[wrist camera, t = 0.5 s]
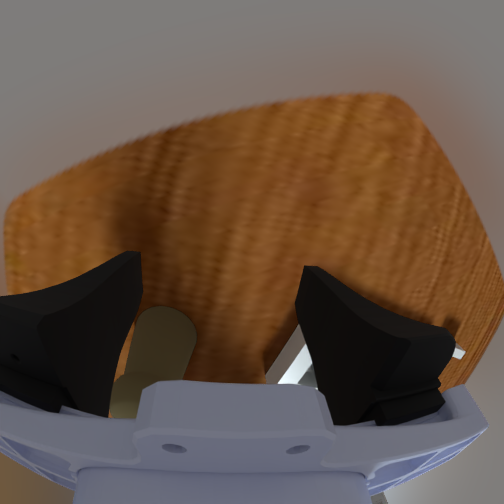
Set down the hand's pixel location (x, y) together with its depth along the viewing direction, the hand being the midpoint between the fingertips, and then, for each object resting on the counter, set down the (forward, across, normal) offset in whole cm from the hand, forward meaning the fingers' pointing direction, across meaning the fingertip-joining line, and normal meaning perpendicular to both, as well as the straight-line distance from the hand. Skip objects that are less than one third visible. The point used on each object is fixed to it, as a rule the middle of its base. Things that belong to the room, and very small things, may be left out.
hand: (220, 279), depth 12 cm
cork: (+9, +4, +12) cm, 16 cm away
